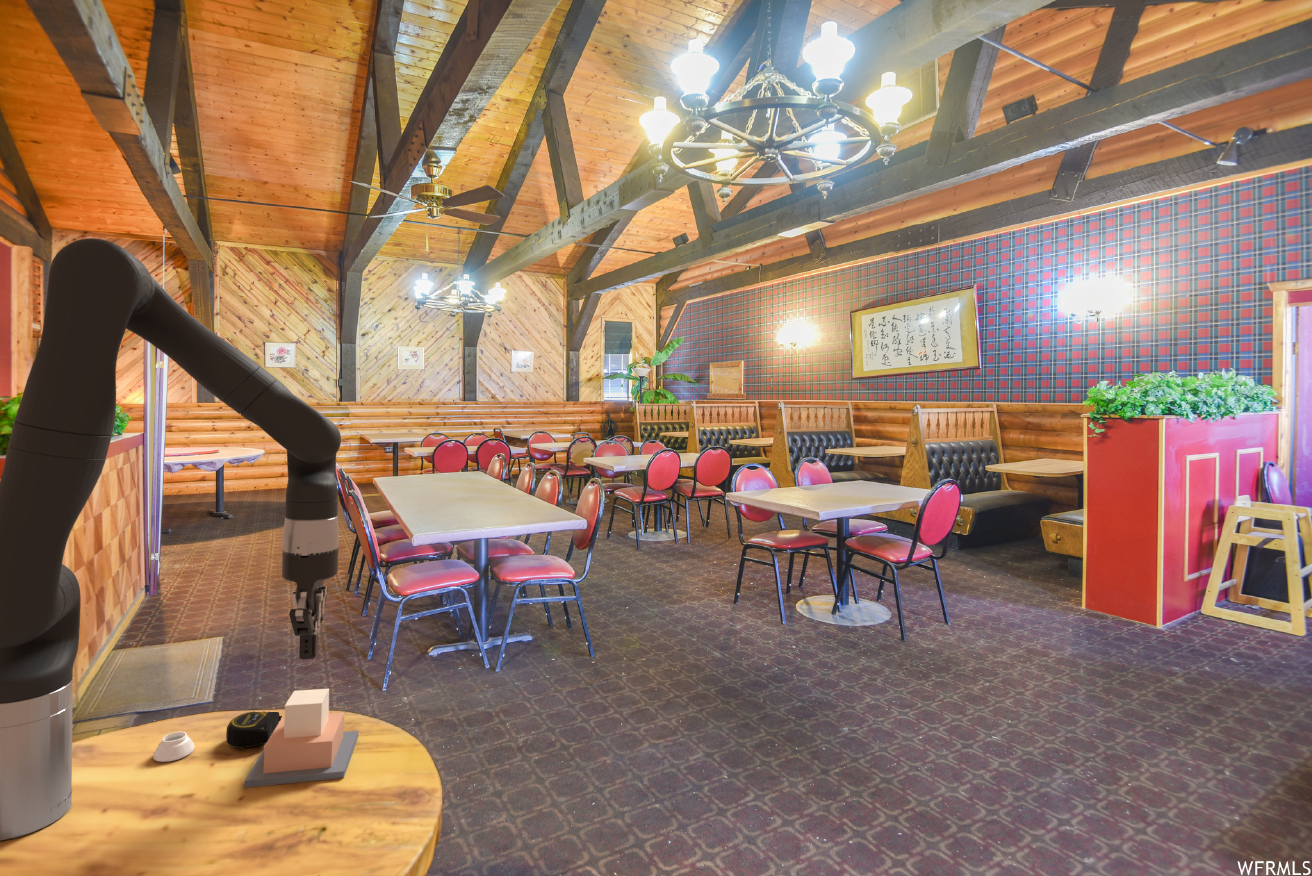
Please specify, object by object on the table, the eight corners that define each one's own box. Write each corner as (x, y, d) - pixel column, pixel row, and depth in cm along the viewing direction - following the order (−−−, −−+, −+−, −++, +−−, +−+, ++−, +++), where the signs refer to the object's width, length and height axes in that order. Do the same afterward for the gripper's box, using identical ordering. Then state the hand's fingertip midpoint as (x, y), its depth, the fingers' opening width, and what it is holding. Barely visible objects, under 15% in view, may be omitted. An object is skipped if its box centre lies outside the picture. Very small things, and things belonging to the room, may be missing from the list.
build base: (244, 787, 91) (244, 753, 90) (270, 743, 102) (271, 713, 102) (343, 777, 94) (344, 745, 94) (358, 736, 106) (359, 707, 105)
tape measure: (267, 751, 100) (267, 728, 100) (218, 754, 99) (218, 730, 99) (281, 729, 107) (282, 707, 107) (236, 732, 105) (236, 710, 105)
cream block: (284, 738, 95) (284, 705, 95) (293, 722, 100) (294, 690, 99) (320, 735, 96) (321, 703, 96) (328, 719, 101) (329, 688, 101)
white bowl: (200, 745, 101) (164, 747, 100) (200, 727, 101) (164, 729, 100) (184, 762, 96) (146, 765, 95) (184, 743, 96) (146, 746, 95)
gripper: (295, 537, 102) (293, 642, 103) (269, 556, 89) (267, 677, 90) (346, 536, 104) (343, 640, 105) (328, 555, 91) (325, 673, 92)
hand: (308, 657), depth 97 cm, fingers closed
